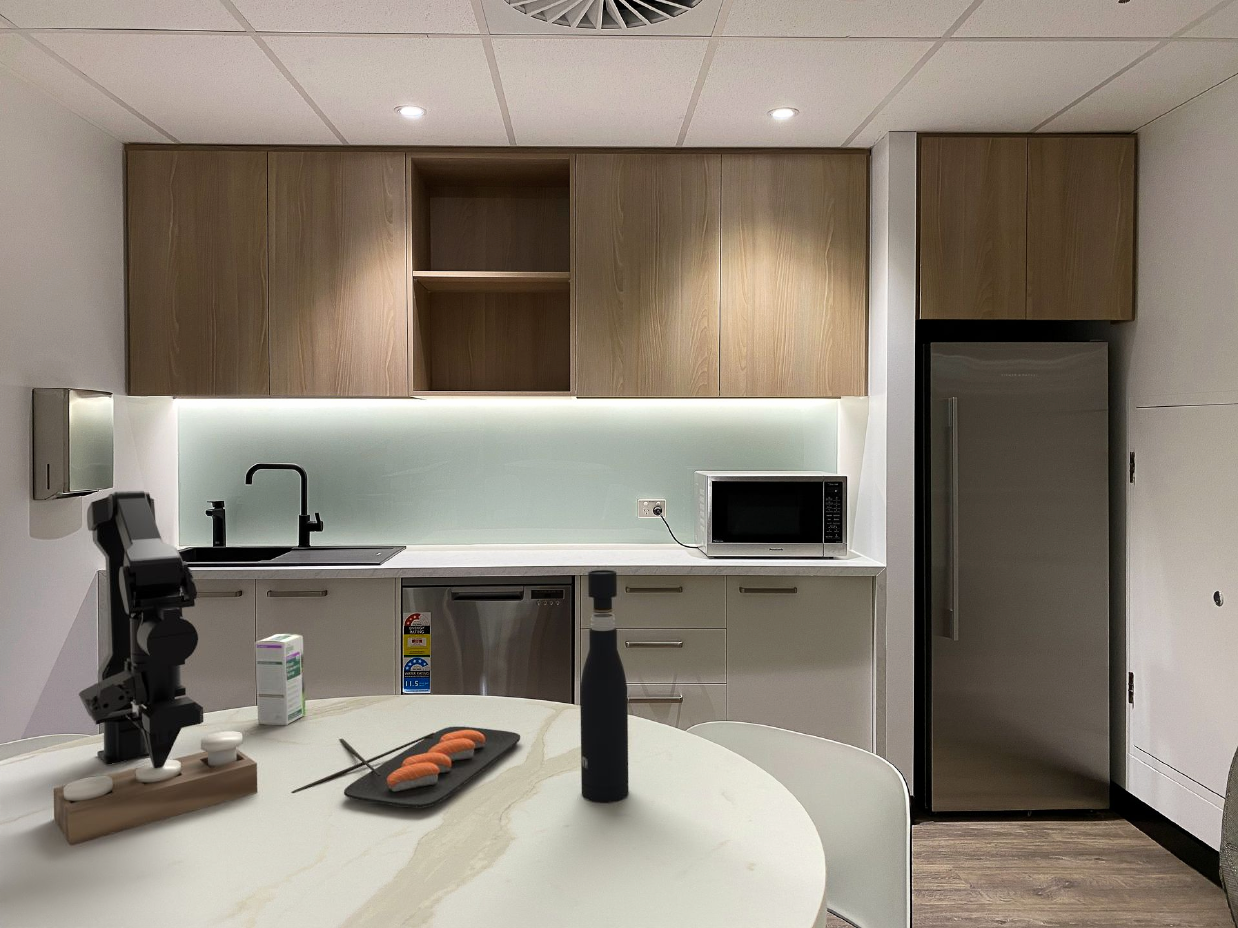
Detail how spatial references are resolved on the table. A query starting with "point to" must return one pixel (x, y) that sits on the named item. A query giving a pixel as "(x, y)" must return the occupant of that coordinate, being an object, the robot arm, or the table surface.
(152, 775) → the knob middle
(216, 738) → the knob
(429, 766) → the sushi plate
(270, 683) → the syrup box
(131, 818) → the knob mount
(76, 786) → the knob
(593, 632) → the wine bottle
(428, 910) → the table surface
